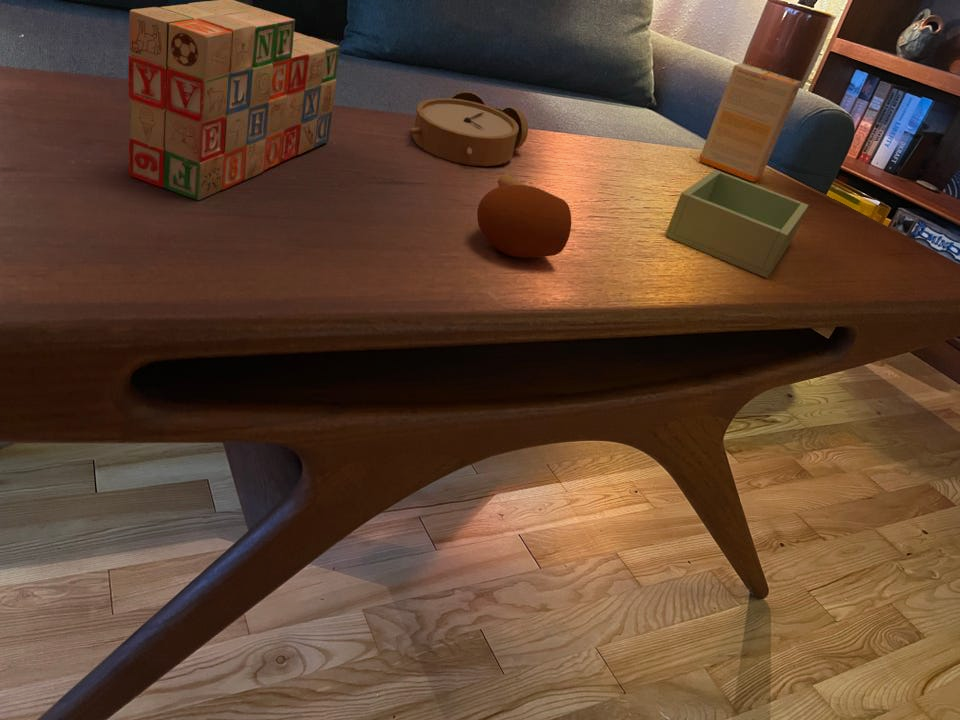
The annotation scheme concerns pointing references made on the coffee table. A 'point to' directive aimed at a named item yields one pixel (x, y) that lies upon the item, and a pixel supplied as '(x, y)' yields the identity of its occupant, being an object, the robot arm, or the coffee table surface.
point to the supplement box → (749, 121)
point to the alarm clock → (469, 130)
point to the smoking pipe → (524, 219)
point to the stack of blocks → (223, 94)
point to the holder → (736, 221)
